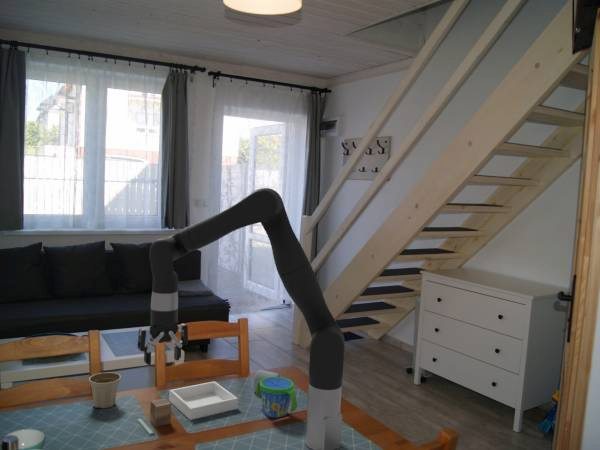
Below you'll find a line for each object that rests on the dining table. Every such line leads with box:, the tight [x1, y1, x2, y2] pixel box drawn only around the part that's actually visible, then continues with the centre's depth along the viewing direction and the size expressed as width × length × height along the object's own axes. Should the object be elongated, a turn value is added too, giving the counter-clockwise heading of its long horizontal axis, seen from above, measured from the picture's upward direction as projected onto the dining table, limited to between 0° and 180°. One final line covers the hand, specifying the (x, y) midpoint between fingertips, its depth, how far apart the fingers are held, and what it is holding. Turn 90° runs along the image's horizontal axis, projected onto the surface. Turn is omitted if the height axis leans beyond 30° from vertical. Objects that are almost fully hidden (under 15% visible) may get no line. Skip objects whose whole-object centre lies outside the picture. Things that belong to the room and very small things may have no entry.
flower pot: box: [88, 371, 122, 409], centre depth 161 cm, size 9×9×9 cm
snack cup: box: [255, 376, 298, 419], centre depth 161 cm, size 16×10×10 cm
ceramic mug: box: [252, 369, 281, 393], centre depth 179 cm, size 11×8×8 cm
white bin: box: [168, 380, 239, 421], centre depth 164 cm, size 16×16×4 cm
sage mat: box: [137, 418, 155, 436], centre depth 150 cm, size 10×10×1 cm
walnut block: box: [149, 397, 172, 428], centre depth 150 cm, size 4×4×6 cm
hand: (162, 361), depth 149 cm, fingers open, 8 cm apart
